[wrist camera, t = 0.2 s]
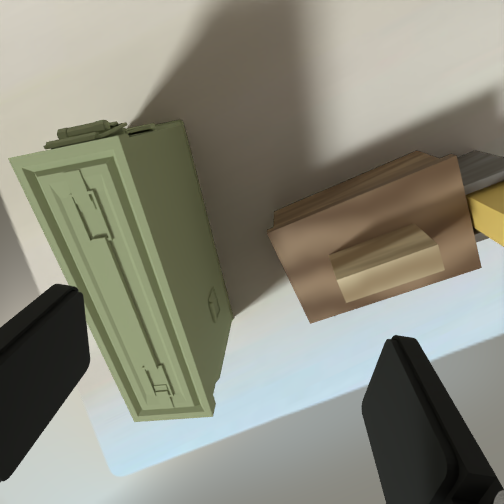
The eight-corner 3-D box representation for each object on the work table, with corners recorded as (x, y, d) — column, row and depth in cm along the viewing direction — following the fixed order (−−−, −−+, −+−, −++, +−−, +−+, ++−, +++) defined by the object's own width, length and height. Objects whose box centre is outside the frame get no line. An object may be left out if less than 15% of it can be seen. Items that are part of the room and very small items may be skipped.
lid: (267, 227, 40) (264, 255, 33) (506, 127, 34) (570, 134, 26) (308, 313, 45) (314, 355, 38) (524, 241, 39) (582, 275, 31)
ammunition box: (183, 109, 42) (110, 115, 24) (235, 318, 55) (215, 424, 37) (114, 124, 43) (-4, 140, 25) (182, 324, 56) (136, 429, 38)
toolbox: (274, 211, 47) (273, 231, 39) (470, 127, 40) (513, 133, 33) (307, 283, 51) (312, 313, 44) (489, 219, 45) (529, 241, 37)
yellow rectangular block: (433, 179, 43) (511, 218, 29) (465, 166, 42) (562, 200, 28) (440, 205, 45) (517, 255, 30) (471, 193, 44) (566, 239, 29)
